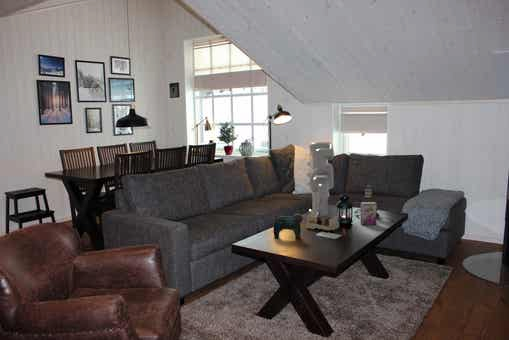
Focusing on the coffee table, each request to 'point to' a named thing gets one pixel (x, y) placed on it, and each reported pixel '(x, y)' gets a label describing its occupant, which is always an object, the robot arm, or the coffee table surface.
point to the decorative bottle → (367, 197)
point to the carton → (332, 225)
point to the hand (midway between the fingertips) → (322, 224)
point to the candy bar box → (368, 213)
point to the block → (323, 221)
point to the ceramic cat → (288, 224)
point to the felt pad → (328, 235)
